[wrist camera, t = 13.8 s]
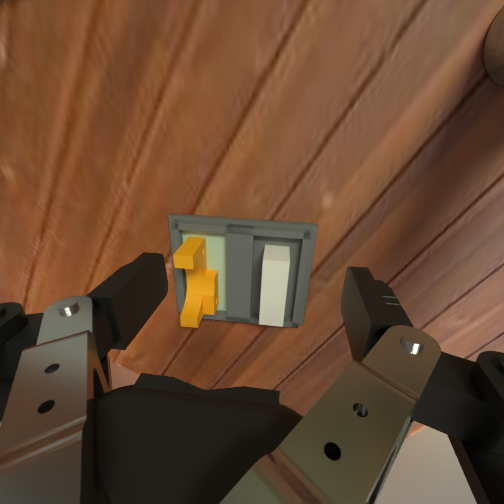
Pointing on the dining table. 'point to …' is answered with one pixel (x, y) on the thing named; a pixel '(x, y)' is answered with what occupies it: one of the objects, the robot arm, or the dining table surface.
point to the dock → (251, 266)
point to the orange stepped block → (197, 281)
